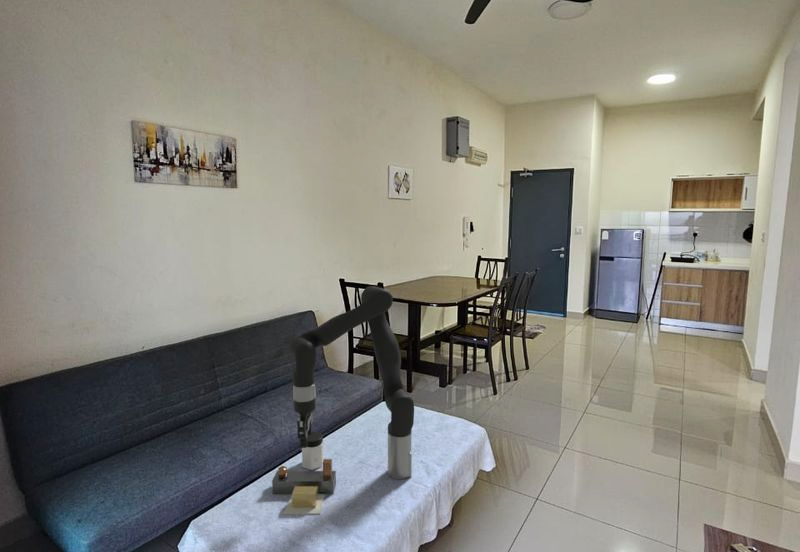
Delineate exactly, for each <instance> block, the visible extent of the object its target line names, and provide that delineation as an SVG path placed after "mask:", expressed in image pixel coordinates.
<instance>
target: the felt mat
mask: <svg viewBox="0 0 800 552" xmlns="http://www.w3.org/2000/svg"><path fill="white" fill-rule="evenodd" d="M325 497H326V494H318V501H317V505H316V508H292V494H290V498H289V499H288V503H287V504H286V505H287V506H286V508H285V512H284V515H321V513H322V512H321V511H322V508H323V504H324V500H325Z"/></svg>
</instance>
